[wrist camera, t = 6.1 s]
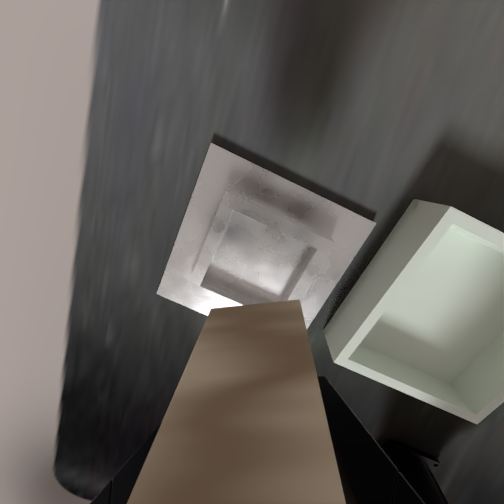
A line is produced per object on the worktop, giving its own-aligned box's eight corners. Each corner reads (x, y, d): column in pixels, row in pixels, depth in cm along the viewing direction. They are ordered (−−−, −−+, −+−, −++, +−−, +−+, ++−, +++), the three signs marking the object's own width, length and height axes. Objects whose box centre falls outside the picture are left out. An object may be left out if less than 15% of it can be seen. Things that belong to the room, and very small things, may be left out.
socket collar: (373, 221, 19) (385, 227, 17) (291, 347, 24) (293, 363, 22) (212, 143, 18) (205, 140, 16) (159, 290, 23) (148, 302, 21)
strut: (300, 298, 10) (381, 640, 3) (309, 372, 12) (380, 746, 4) (209, 307, 11) (71, 620, 3) (227, 377, 12) (154, 721, 5)
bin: (557, 271, 19) (627, 295, 16) (444, 383, 24) (477, 424, 20) (413, 198, 18) (450, 206, 15) (323, 330, 23) (333, 362, 19)
